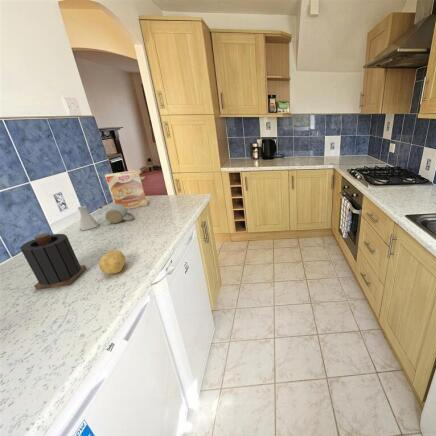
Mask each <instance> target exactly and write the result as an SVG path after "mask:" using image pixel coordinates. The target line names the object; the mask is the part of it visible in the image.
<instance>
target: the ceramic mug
mask: <svg viewBox="0 0 436 436" xmlns="http://www.w3.org/2000/svg"><path fill="white" fill-rule="evenodd" d="M128 216H129V217H128ZM134 218H135V215H134V214H133V213H131V212H129V211H128V209H126V207H125V206H123V205H121V204H114V203H113V204H112V205H110V207H108V210H106V213H105V219H106V220H107V221H108V222H109V223H111V224H119V223H120V222H122V221H132V220H134Z"/></svg>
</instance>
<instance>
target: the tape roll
mask: <svg viewBox="0 0 436 436" xmlns="http://www.w3.org/2000/svg"><path fill="white" fill-rule="evenodd" d="M50 237H51V239H52V241H53V242H52V243H50V244H47V245H43V246H38V244H37V242H36V240H35V239H32V240H29V241H26V242H25V243H23V244H22V245H21V246H20V248H19V249H20V252H21V253H22V255H23V256H24V258H25V260H26V262H27V264H28V266H29V267H30V269H31V271H32V274H34V277H35V278H36V280H37V283H38V282H39V283H40V284H42V285H49V284H50V285H51V284H55V283H59V282H60V281H61V282H62V281H65V280H67V279H69V278H71V277H73V276H75V275H76V274H77V273H78V272H80V270H81V266H80V265H81V264H80V261H79V260H78V258H77V256H76V253H75V251H74V249H73V247H72V245H71V242H70V240H69V238H68V236H67V234H65V233H53V234H50Z"/></svg>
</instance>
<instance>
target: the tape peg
mask: <svg viewBox="0 0 436 436" xmlns="http://www.w3.org/2000/svg"><path fill="white" fill-rule="evenodd" d="M50 235H51V234H50V233H49V232H43V233H40V234H37V235H35V236H33V237H34V240H36V242H37V244H38V246H43V245H47V244H50V243H52V242H53V241H52V239H51V237H50ZM80 266H81V270H80V272H78V273H77V274H76V275H75V276H73V277H71V278H69V279H67V280H65V281H62V282H61V281H60V282H59V283H55V284H51V285H50V284H49V285H42V284H40V283H39V282H38V281H37V283H35V284H34V285H33V287H34V288H35V290H43V289H52V288H59V287H66V286H71V285H72V284H73V283H74V282H75V281H76V280H77V279H78V278H79V277H80V276H81V275H82V274H83V273H84V272H85V271H86V270H87V267H86V264H80Z"/></svg>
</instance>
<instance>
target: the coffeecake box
mask: <svg viewBox="0 0 436 436" xmlns="http://www.w3.org/2000/svg"><path fill="white" fill-rule="evenodd" d="M104 178H105V181H106V184H107V187H108V190H109V193H110V196H111V199H112V201H113V205H114V204H121V205H123V206H125V207H126V209H127V210H132V209H136V208H140V207H144V206H148V201H147V197H146V194H145V190H144V186H143V183H142V180H141V179H142V178H141V176H140V172H139V171H137V170H136V169H133V170H127V171H122V172H121V171H120V172H114V173H107V174H104Z"/></svg>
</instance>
